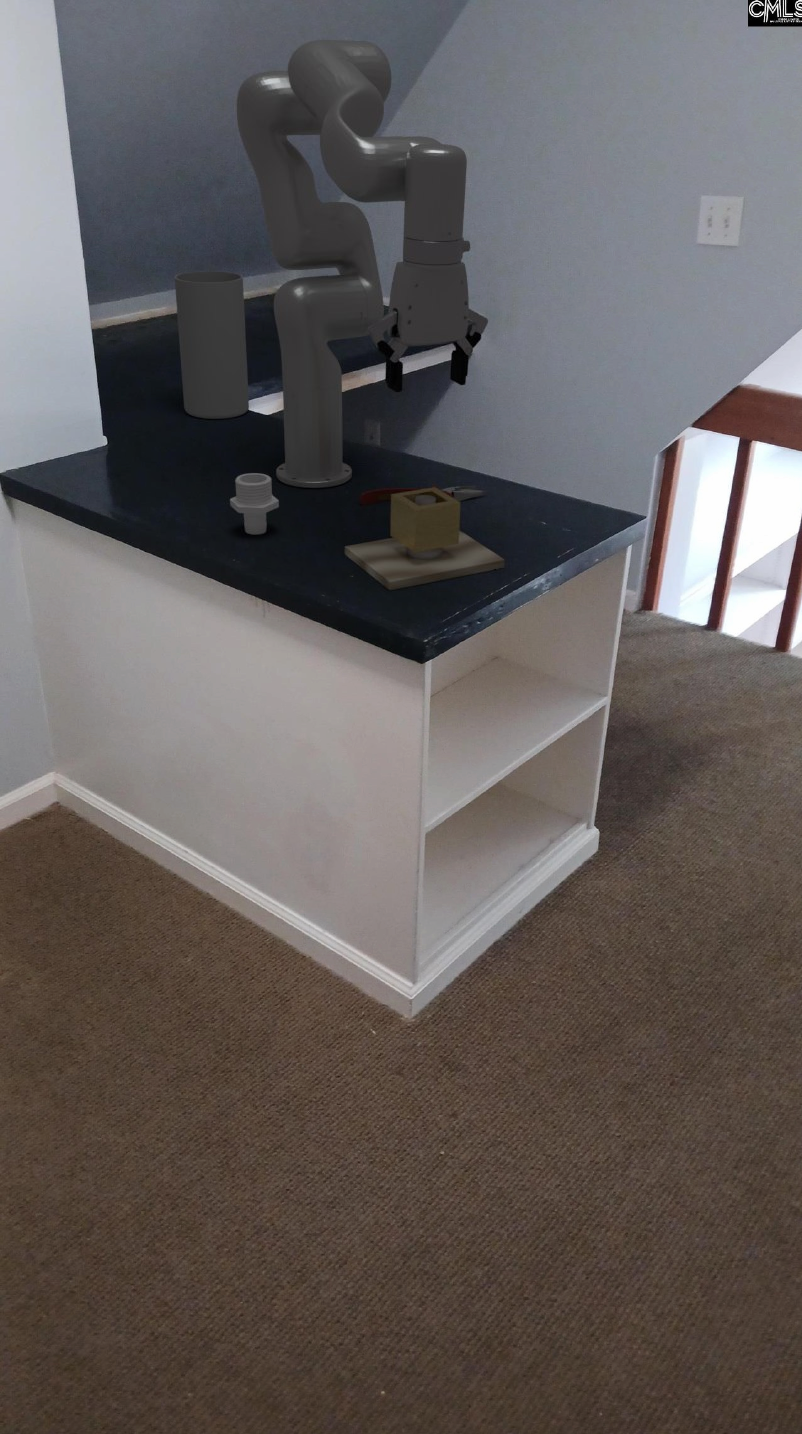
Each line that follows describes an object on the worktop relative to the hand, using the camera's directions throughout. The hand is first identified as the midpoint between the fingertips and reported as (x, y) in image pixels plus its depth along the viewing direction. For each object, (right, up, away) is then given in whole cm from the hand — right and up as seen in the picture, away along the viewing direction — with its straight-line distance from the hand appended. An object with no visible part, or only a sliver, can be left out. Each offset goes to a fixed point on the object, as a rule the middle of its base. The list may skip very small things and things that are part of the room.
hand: (426, 386), depth 158 cm
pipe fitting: (-25, -17, +16) cm, 34 cm away
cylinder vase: (-40, +15, +71) cm, 83 cm away
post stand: (0, -23, +7) cm, 24 cm away
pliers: (+1, -12, +26) cm, 29 cm away
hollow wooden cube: (0, -20, +5) cm, 21 cm away
